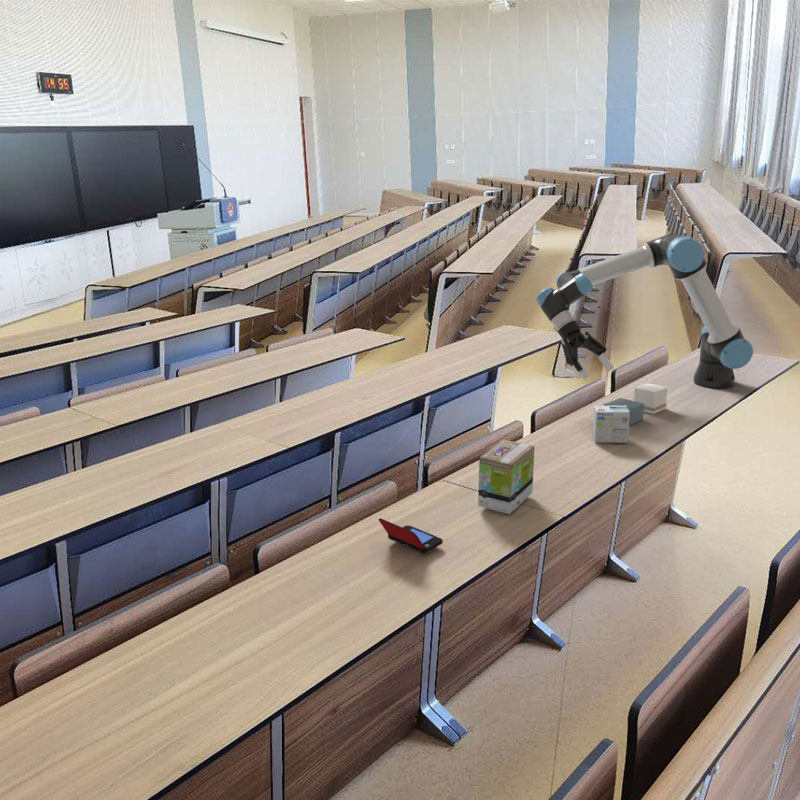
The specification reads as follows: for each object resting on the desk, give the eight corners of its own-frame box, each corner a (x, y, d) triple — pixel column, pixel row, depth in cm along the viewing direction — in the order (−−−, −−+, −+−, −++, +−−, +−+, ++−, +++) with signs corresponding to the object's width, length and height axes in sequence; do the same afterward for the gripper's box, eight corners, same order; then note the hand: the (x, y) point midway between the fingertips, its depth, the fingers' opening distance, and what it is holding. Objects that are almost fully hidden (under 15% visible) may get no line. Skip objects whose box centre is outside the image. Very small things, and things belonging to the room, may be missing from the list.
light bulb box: (624, 435, 256) (627, 404, 253) (628, 443, 250) (630, 411, 246) (591, 435, 257) (593, 404, 254) (594, 443, 251) (596, 411, 247)
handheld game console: (444, 543, 192) (444, 516, 190) (415, 561, 185) (414, 533, 183) (407, 527, 201) (406, 501, 198) (378, 543, 193) (376, 517, 191)
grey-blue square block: (619, 413, 277) (620, 397, 275) (643, 419, 270) (644, 403, 268) (602, 419, 271) (603, 404, 269) (626, 426, 264) (627, 410, 262)
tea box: (511, 515, 205) (512, 464, 200) (477, 507, 210) (477, 456, 206) (533, 493, 217) (535, 444, 212) (500, 485, 222) (501, 437, 217)
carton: (646, 403, 285) (647, 383, 283) (666, 408, 279) (667, 387, 277) (633, 409, 281) (634, 387, 278) (653, 414, 275) (654, 392, 272)
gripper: (581, 326, 291) (614, 372, 284) (537, 338, 276) (570, 387, 269) (593, 314, 285) (627, 360, 278) (549, 325, 270) (583, 375, 263)
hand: (599, 373), depth 274 cm, fingers open, 13 cm apart
